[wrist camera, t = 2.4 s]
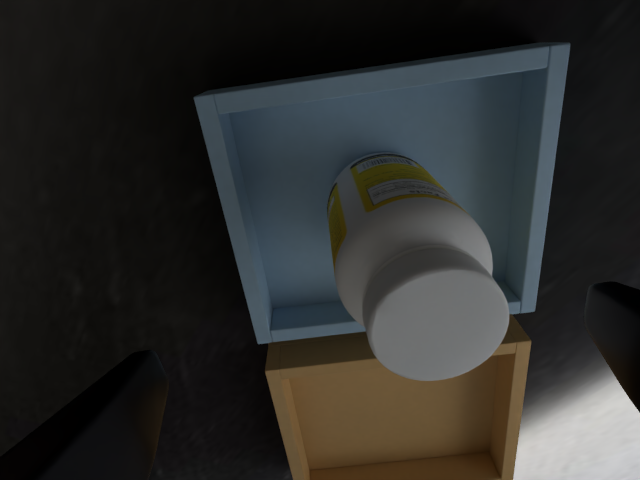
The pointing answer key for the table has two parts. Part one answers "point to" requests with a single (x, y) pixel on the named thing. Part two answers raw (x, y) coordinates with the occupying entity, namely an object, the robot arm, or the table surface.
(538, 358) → the table surface
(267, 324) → the tray
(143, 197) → the table surface
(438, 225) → the supplement bottle
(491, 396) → the tray
